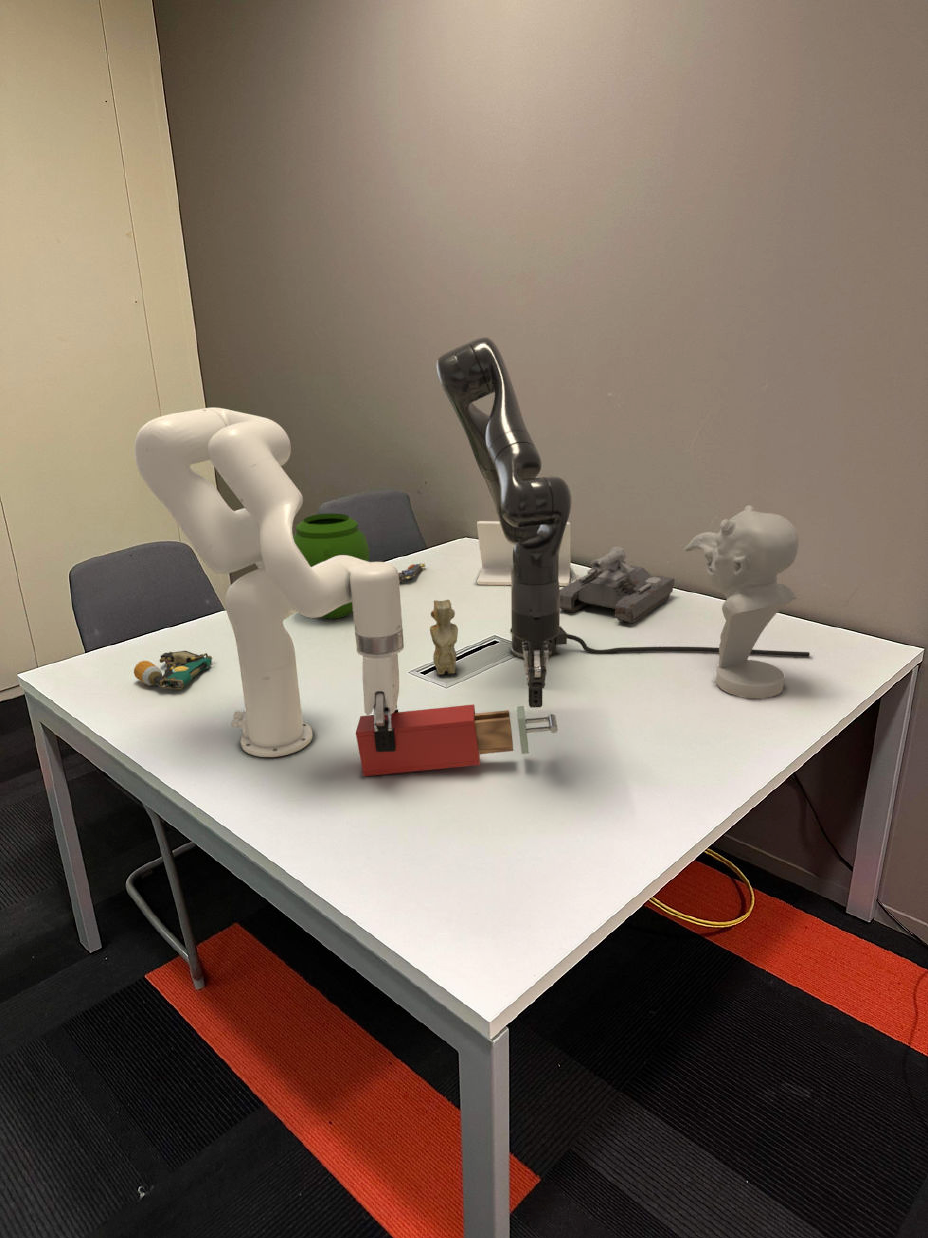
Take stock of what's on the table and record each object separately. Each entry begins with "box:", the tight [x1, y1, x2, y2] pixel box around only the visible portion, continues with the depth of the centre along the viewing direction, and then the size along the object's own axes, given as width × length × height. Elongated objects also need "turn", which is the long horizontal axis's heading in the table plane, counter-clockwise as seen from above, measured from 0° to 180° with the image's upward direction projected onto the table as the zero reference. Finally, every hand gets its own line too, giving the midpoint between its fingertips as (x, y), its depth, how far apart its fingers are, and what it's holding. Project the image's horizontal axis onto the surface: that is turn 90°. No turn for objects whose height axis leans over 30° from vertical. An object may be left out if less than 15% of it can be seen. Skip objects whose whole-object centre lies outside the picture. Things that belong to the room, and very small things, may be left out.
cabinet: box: [355, 703, 481, 777], centre depth 141 cm, size 19×6×8 cm, turn 89°
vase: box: [293, 512, 370, 620], centre depth 209 cm, size 20×20×24 cm
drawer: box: [474, 705, 559, 755], centre depth 141 cm, size 23×5×6 cm, turn 89°
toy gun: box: [398, 562, 426, 582], centre depth 240 cm, size 3×19×10 cm
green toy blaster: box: [133, 650, 213, 690], centre depth 180 cm, size 4×17×15 cm
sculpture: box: [429, 599, 459, 675], centre depth 177 cm, size 6×7×15 cm
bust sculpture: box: [684, 505, 799, 699], centre depth 167 cm, size 16×24×35 cm
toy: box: [559, 546, 676, 624], centre depth 212 cm, size 25×20×15 cm
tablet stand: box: [476, 520, 572, 587], centre depth 236 cm, size 18×25×17 cm
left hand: (388, 740), depth 142 cm, fingers closed on cabinet, 6 cm apart
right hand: (535, 705), depth 139 cm, fingers closed
